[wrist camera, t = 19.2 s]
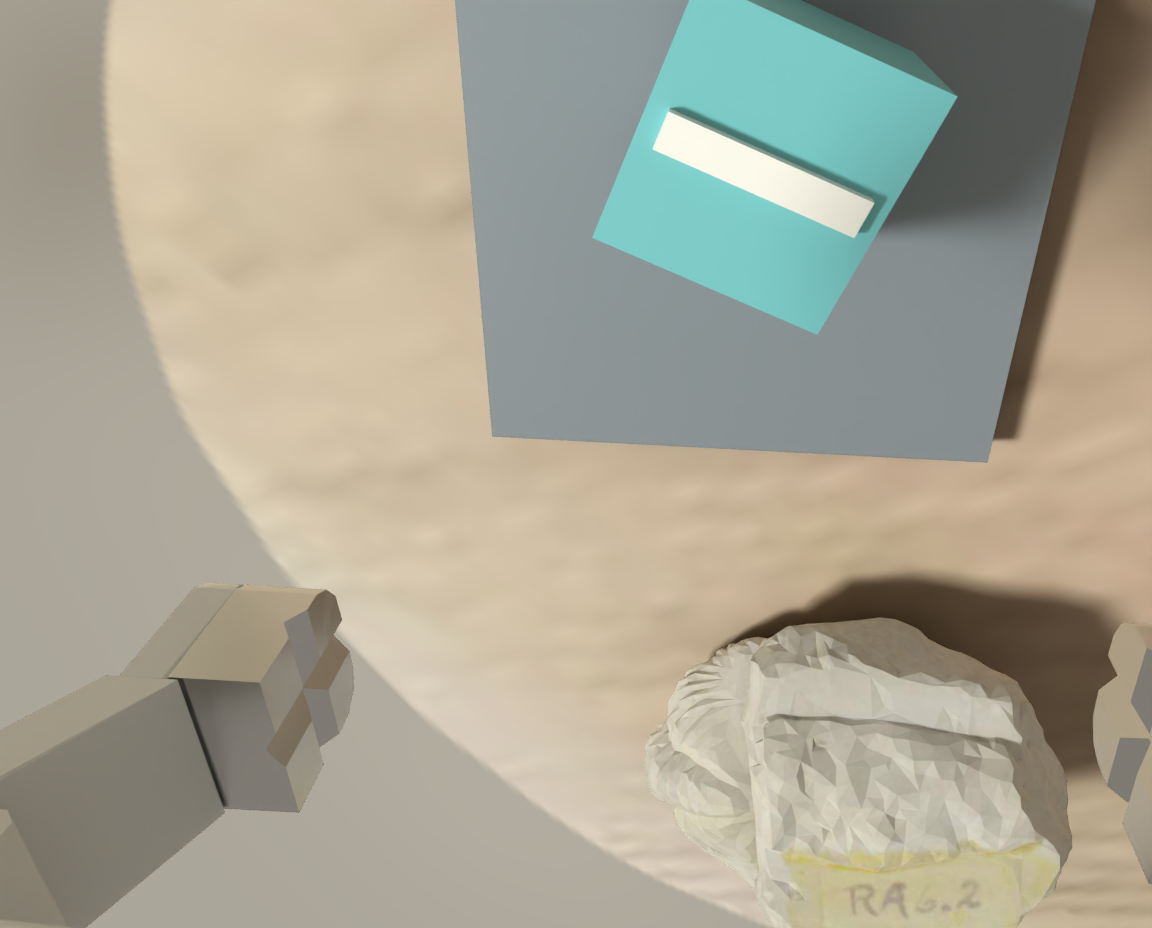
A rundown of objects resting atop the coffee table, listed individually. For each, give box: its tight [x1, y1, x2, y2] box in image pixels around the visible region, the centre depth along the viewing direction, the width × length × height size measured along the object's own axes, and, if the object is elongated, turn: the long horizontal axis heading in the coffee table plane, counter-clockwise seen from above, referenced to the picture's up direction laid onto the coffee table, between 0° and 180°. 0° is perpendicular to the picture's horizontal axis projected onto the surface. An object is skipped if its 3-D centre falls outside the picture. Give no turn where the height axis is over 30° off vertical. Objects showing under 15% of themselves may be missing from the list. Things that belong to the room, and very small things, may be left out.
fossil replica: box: [645, 617, 1072, 928], centre depth 29 cm, size 12×8×10 cm
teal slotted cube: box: [592, 0, 958, 335], centre depth 19 cm, size 5×5×5 cm
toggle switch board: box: [455, 0, 1096, 463], centre depth 21 cm, size 18×14×6 cm
